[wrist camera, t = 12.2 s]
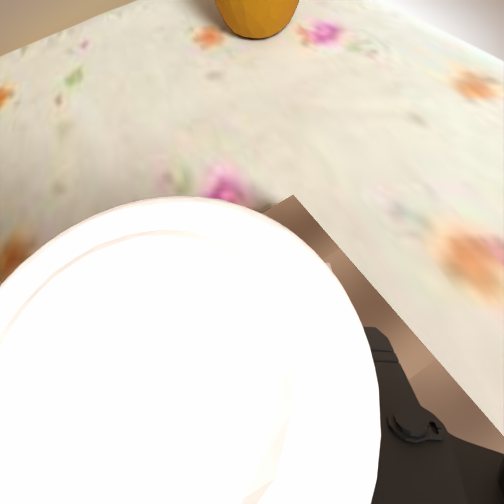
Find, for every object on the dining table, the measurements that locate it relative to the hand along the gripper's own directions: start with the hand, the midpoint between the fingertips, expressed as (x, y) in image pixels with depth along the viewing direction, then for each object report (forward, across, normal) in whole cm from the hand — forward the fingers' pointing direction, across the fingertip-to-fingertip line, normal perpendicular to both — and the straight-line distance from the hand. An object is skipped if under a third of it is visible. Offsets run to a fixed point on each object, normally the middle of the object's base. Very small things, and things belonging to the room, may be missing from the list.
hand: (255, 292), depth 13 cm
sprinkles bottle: (0, 0, -6) cm, 6 cm away
